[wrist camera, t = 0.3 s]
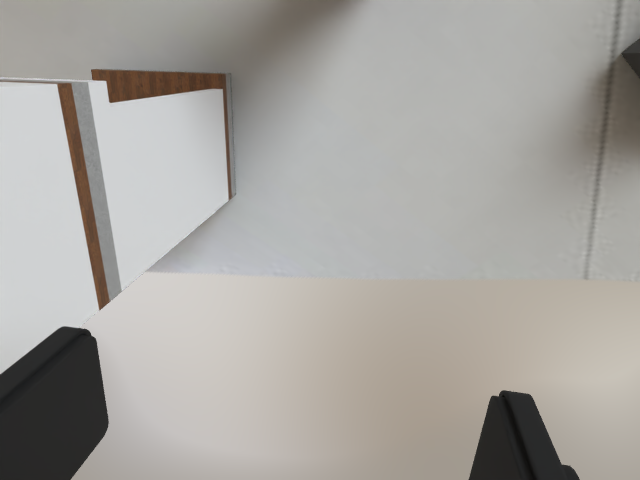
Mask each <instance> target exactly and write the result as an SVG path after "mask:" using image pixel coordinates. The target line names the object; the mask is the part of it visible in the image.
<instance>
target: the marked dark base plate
mask: <svg viewBox="0 0 640 480" xmlns="http://www.w3.org/2000/svg"><path fill="white" fill-rule="evenodd" d="M621 54H622V55H623V57H624V58H625V59H626V61H627V62H628V63H629V65H630V66H631V67H632V69H633V70H634V71H635V73H636V74H637V75H638V77H639V78H640V39H639V40H637V41H636V42H635V43H634V44H632V45H631V46H630V47H629V48H627V49H626V50H625V51H624V52H622V53H621Z"/></svg>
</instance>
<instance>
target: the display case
mask: <svg viewBox="0 0 640 480" xmlns="http://www.w3.org/2000/svg"><path fill="white" fill-rule="evenodd" d="M91 72H92V79H93V80H66V79H39V78H11V77H0V374H1V373H3V372H4V371H5V370H6V369H8V368H9V367H10V366H12V365H13V364H14V363H15V362H17V361H18V360H19V359H20V358H22V357H23V356H24V355H25V354H27V353H28V352H29V351H31V350H32V349H33V348H34V347H36V346H37V345H38V344H39V343H41V342H42V341H43V340H44V339H46V338H47V337H48V336H50V335H51V334H52V333H53V332H55V331H56V330H57V329H59V328H60V327H63V326H68V327H75V328H79V327H80V326H82V325H83V324H84V323H85V322H86V321H88V320H89V319H90V318H91V317H92V316H94V315H95V314H96V313H97V312H98V311H99V310H101V309H102V308H103V307H104V306H105V305H106V304H108V303H109V302H110V301H111V300H112V299H113V298H115V297H116V296H117V295H118V294H119V293H121V292H122V291H123V290H124V289H125V288H126V287H127V286H129V285H130V284H131V283H132V282H134V281H135V280H136V279H137V278H138V277H139V276H140V275H142V274H143V273H144V272H145V271H146V270H148V269H149V268H150V267H151V266H152V265H154V264H155V263H156V262H157V261H158V260H159V259H161V258H162V257H163V256H164V255H165V254H166V253H168V252H169V251H170V250H171V249H172V248H174V247H175V246H176V245H177V244H178V243H179V242H181V241H182V240H183V239H184V238H185V237H186V236H188V235H189V234H190V233H191V232H192V231H194V230H195V229H196V228H197V227H198V226H199V225H201V224H202V223H203V222H204V221H205V220H206V219H208V218H209V217H210V216H211V215H212V214H213V213H215V212H216V211H217V210H218V209H219V208H221V207H222V206H223V205H224V204H225V203H226V202H228V201H229V200H230V199H231V198H232V197H233V196H235V195H236V184H235V163H234V141H233V120H232V99H231V77H230V73H203V72H172V71H142V70H112V69H95V70H91Z"/></svg>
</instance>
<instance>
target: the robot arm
mask: <svg viewBox="0 0 640 480" xmlns="http://www.w3.org/2000/svg"><path fill="white" fill-rule="evenodd" d="M107 428H108V414H107V408H106V401H105V395H104V389H103V381H102V374H101V368H100V361H99V355H98V348H97V342H96V339H95V338H94V337H93V336H91V333H90V332H89V331H88V330H87V329H81V328H75V327H68V326H63V327H60V328H59V329H57V330H56V331H55V332H53V333H52V334H51V335H50V336H48V337H47V338H46V339H44V340H43V341H42V342H41V343H39V344H38V345H37V346H36V347H34V348H33V349H32V350H31V351H29V352H28V353H27V354H25V355H24V356H23V357H22V358H20V359H19V360H18V361H17V362H15V363H14V364H13V365H12V366H10V367H9V368H8V369H6V370H5V371H4V372H3V373H1V374H0V480H71V478H72V477H73V476H74V474H75V473H76V472H77V471H78V469H79V468H80V467H81V465H82V464H83V463H84V461H85V460H86V459H87V458H88V456H89V455H90V454H91V452H92V451H93V450H94V448H95V447H96V446H97V445H98V443H99V442H100V441H101V439H102V438H103V437H104V435H105V433H106V431H107ZM469 480H580V479H579V477H578V475H577V474H576V472H575V470H574V469H573V468H572V467H570V466H567V465H561V462H560V460H559V458H558V455H557V453H556V451H555V448H554V446H553V444H552V441H551V439H550V437H549V435H548V432H547V430H546V428H545V425H544V423H543V421H542V418H541V416H540V414H539V411H538V409H537V407H536V405H535V402H534V400H533V398H532V396H531V395H529V394H524V393H518V392H511V391H501V392H500V394H499V397H498V396H492V397H491V399H490V402H489V405H488V409H487V413H486V417H485V421H484V424H483V428H482V432H481V436H480V440H479V443H478V447H477V451H476V455H475V458H474V462H473V466H472V470H471V474H470V477H469Z"/></svg>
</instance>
